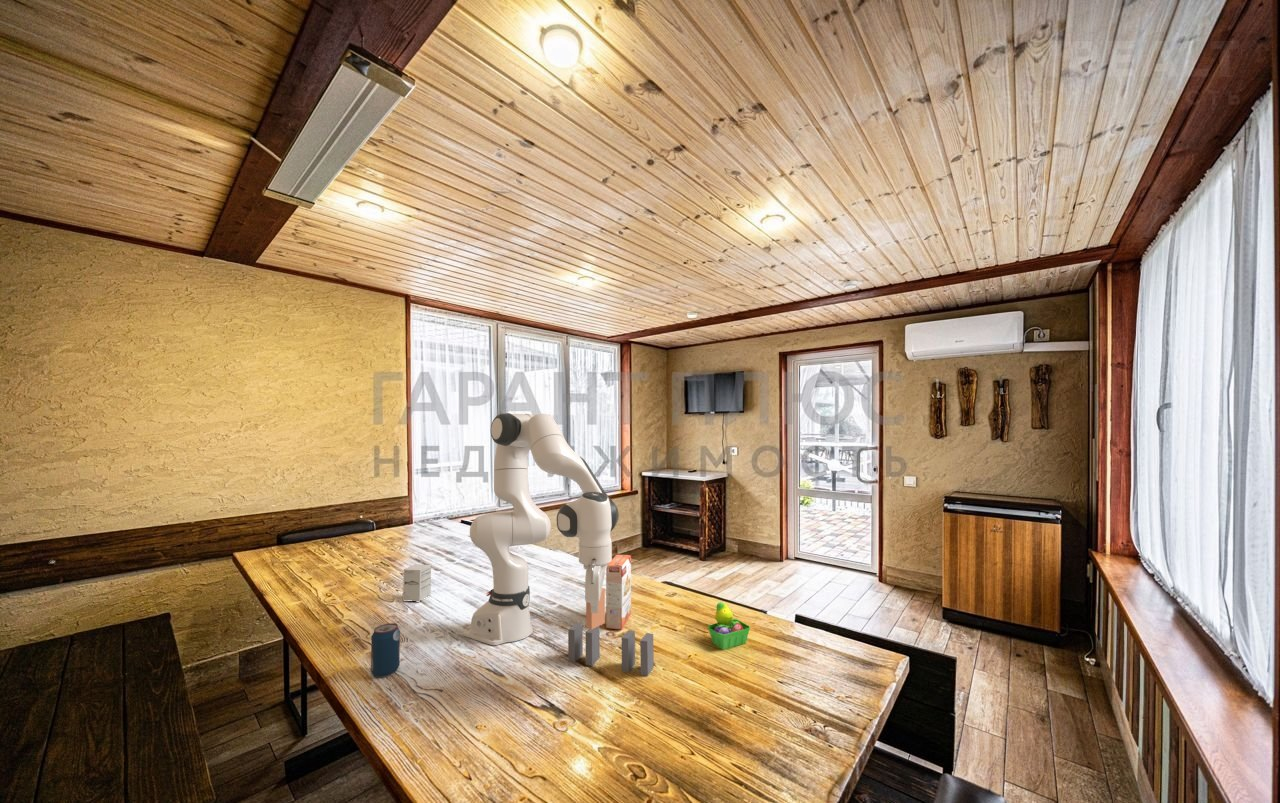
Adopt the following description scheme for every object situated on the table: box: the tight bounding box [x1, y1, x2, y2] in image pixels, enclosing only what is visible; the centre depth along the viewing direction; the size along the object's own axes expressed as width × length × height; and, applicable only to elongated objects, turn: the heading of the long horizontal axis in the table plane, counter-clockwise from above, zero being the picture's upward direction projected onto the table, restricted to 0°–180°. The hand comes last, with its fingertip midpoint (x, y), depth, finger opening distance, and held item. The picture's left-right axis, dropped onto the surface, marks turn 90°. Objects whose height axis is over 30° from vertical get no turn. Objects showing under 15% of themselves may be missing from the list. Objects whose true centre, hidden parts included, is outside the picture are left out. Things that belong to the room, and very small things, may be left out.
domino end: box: [639, 632, 655, 677], centre depth 127 cm, size 2×5×9 cm, turn 160°
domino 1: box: [567, 622, 584, 664], centre depth 135 cm, size 2×5×9 cm, turn 160°
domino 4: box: [621, 629, 636, 674], centre depth 129 cm, size 2×5×9 cm, turn 160°
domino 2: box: [585, 587, 606, 629], centre depth 123 cm, size 2×5×9 cm, turn 141°
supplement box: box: [402, 563, 432, 601], centre depth 183 cm, size 7×7×13 cm
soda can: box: [370, 622, 401, 679], centre depth 128 cm, size 7×7×12 cm
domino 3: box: [585, 626, 601, 667], centre depth 133 cm, size 2×5×9 cm, turn 160°
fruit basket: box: [707, 602, 751, 651], centre depth 143 cm, size 11×9×11 cm
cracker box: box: [605, 554, 632, 630], centre depth 161 cm, size 14×6×21 cm, turn 168°
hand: (595, 607), depth 123 cm, fingers closed on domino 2, 5 cm apart
